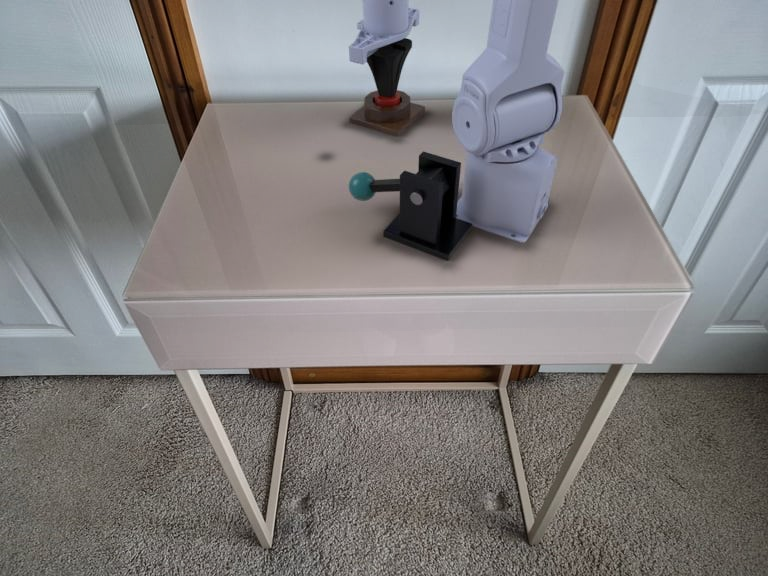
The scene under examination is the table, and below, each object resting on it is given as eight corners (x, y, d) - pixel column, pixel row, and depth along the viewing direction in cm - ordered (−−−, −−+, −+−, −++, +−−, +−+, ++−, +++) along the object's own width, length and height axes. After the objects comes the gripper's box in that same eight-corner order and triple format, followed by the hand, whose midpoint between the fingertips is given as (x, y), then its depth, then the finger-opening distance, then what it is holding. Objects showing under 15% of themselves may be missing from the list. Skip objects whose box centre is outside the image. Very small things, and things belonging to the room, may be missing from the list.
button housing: (425, 113, 80) (425, 94, 78) (397, 139, 75) (397, 119, 73) (378, 101, 83) (377, 82, 81) (349, 124, 78) (348, 105, 76)
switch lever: (349, 206, 62) (339, 181, 60) (364, 191, 64) (354, 167, 62) (439, 205, 55) (429, 177, 53) (452, 188, 57) (444, 161, 55)
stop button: (404, 103, 78) (404, 92, 77) (392, 114, 76) (391, 103, 74) (383, 98, 79) (382, 86, 78) (370, 108, 77) (369, 97, 76)
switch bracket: (383, 239, 61) (381, 172, 54) (409, 210, 64) (410, 144, 58) (447, 263, 58) (453, 196, 51) (471, 231, 61) (479, 164, 55)
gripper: (387, -33, 72) (388, 68, 82) (324, 2, 64) (334, 110, 73) (434, -25, 70) (430, 78, 79) (375, 13, 61) (379, 123, 71)
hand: (387, 94), depth 76 cm, fingers closed, pressing on stop button
